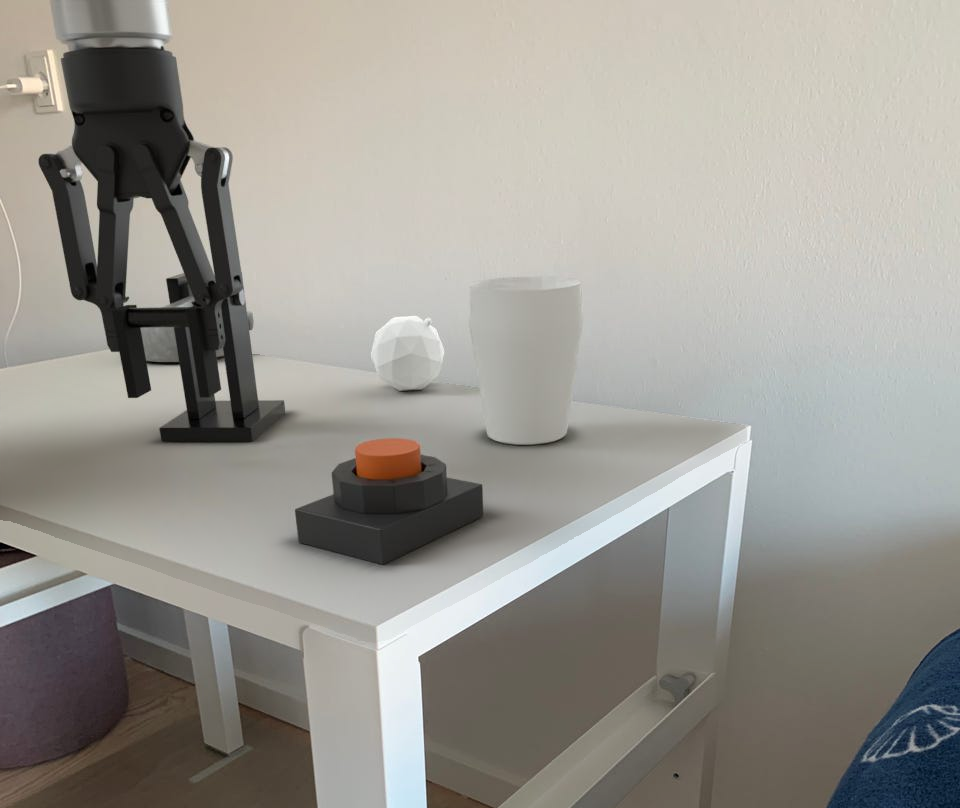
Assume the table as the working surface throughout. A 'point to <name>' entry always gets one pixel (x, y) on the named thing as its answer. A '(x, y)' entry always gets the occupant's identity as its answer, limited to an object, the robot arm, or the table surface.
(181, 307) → the switch
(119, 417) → the table surface
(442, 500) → the block
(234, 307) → the switch bracket
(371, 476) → the button
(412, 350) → the ornament
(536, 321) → the cup
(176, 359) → the dish
